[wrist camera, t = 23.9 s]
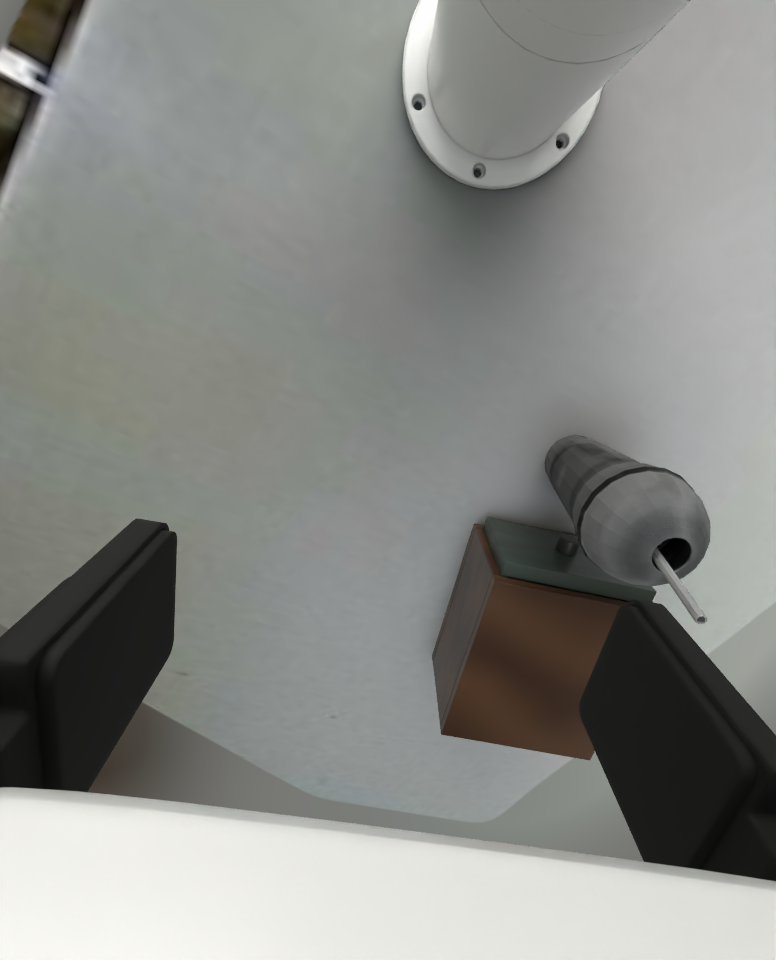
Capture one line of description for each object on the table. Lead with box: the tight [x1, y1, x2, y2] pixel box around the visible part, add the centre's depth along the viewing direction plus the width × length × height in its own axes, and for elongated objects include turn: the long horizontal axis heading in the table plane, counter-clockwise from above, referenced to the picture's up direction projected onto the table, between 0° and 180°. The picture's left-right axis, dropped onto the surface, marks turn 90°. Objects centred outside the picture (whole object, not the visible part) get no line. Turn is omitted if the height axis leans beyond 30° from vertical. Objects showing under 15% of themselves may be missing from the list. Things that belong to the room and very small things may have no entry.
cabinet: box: [432, 524, 653, 760], centre depth 42 cm, size 15×13×9 cm
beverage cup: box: [545, 435, 710, 624], centre depth 31 cm, size 7×7×20 cm
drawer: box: [483, 517, 656, 602], centre depth 41 cm, size 15×11×7 cm
